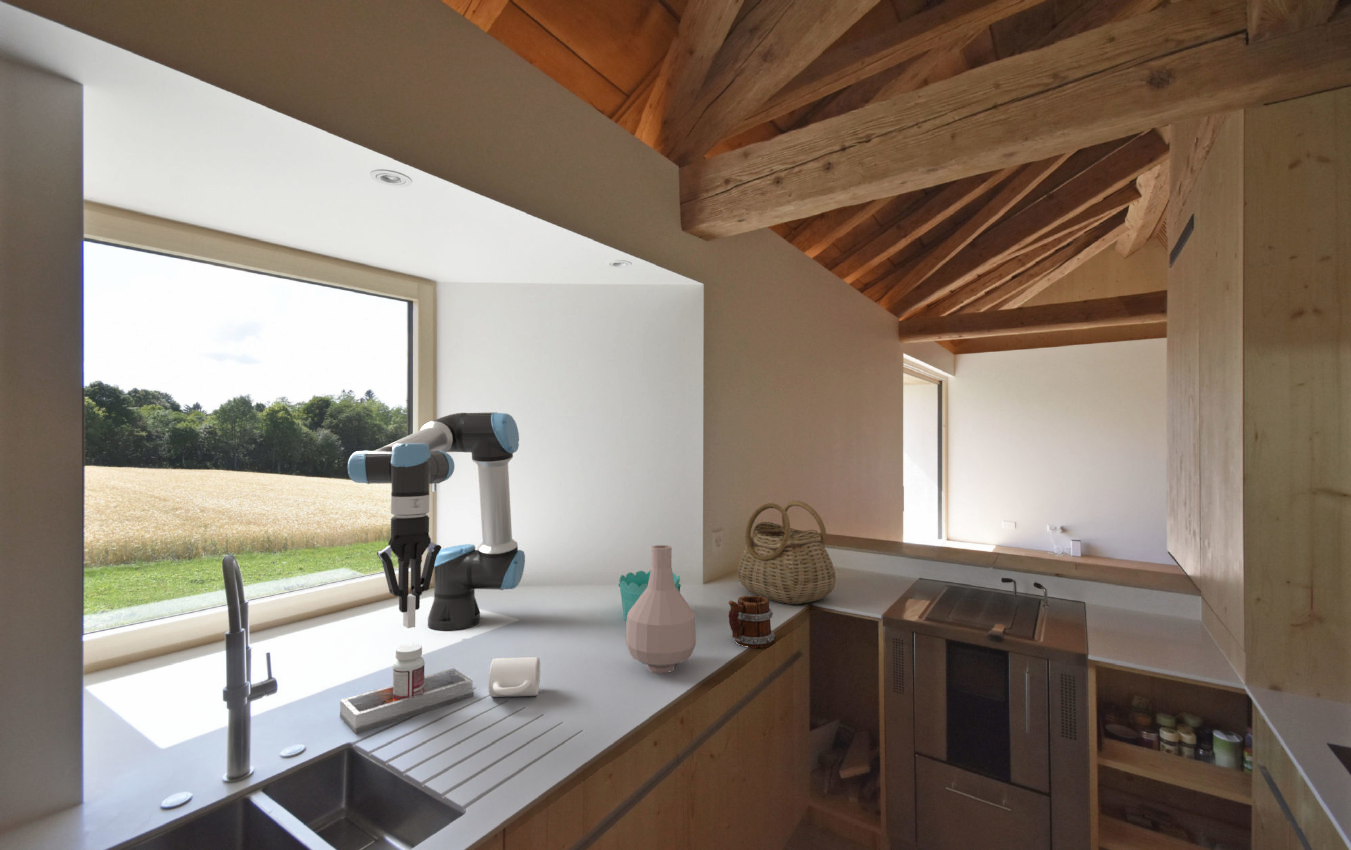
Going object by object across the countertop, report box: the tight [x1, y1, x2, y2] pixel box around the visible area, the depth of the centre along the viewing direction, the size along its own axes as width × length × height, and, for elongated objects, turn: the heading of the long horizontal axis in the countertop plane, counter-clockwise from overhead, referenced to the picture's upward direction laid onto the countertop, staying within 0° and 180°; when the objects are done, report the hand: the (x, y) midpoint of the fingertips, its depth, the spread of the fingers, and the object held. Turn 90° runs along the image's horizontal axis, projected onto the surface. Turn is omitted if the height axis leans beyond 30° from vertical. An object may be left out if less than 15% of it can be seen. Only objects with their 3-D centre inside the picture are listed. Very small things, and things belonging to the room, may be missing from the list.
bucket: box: [618, 570, 682, 622], centre depth 193 cm, size 19×18×13 cm
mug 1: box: [488, 656, 541, 698], centre depth 134 cm, size 12×10×8 cm
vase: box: [625, 544, 697, 674], centre depth 152 cm, size 18×18×30 cm
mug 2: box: [728, 595, 776, 649], centre depth 170 cm, size 12×14×15 cm
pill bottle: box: [392, 643, 425, 702], centre depth 130 cm, size 6×6×11 cm
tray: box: [339, 667, 474, 735], centre depth 130 cm, size 24×10×4 cm, turn 134°
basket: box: [737, 500, 837, 605], centre depth 219 cm, size 35×28×34 cm
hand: (409, 625), depth 130 cm, fingers closed
